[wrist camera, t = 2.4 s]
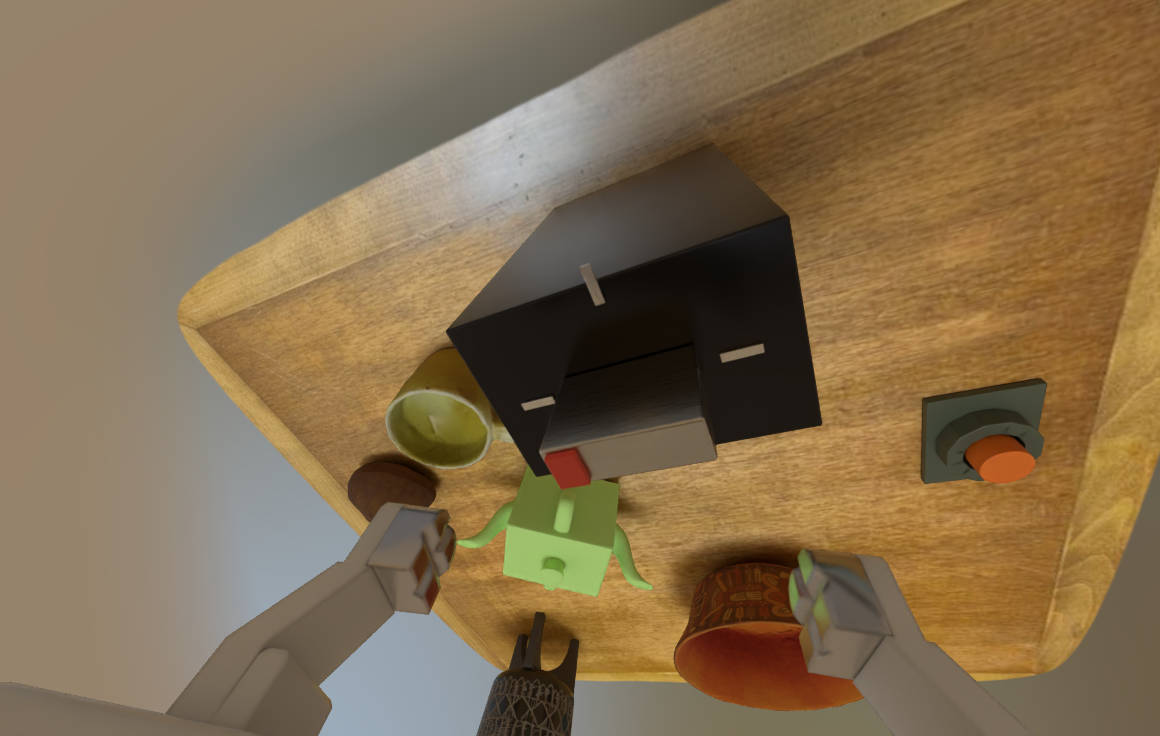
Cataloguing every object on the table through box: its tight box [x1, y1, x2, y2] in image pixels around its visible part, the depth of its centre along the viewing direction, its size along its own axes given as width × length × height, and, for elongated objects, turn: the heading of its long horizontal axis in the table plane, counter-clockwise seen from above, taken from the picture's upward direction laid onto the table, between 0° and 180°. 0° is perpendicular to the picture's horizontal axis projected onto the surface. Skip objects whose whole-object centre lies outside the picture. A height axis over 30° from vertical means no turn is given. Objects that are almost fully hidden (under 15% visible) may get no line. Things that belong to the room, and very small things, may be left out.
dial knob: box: [539, 345, 717, 489], centre depth 14 cm, size 5×2×4 cm, turn 113°
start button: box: [965, 434, 1035, 483], centre depth 35 cm, size 4×4×2 cm
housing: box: [921, 379, 1047, 484], centre depth 36 cm, size 10×8×2 cm
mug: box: [385, 348, 514, 469], centre depth 40 cm, size 12×10×10 cm
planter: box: [476, 612, 579, 736], centre depth 62 cm, size 13×13×18 cm
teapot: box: [457, 465, 653, 597], centre depth 45 cm, size 15×13×11 cm
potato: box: [348, 462, 436, 522], centre depth 50 cm, size 7×10×7 cm
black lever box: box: [446, 143, 822, 477], centre depth 24 cm, size 12×9×20 cm
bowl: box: [674, 563, 864, 711], centre depth 50 cm, size 21×21×10 cm
